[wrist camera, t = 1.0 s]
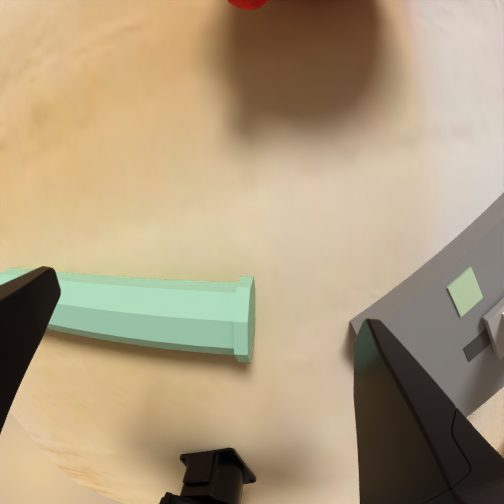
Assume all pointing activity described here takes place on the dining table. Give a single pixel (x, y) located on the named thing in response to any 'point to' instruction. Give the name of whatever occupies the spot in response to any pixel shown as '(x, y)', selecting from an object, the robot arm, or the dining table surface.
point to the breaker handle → (496, 328)
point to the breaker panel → (453, 312)
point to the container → (156, 312)
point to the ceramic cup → (248, 3)
